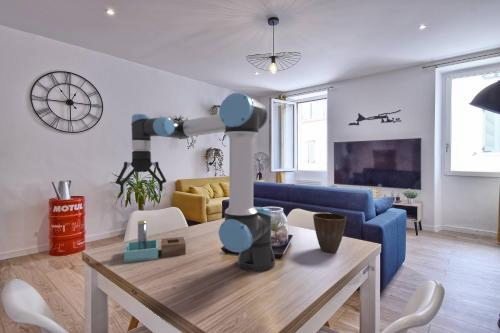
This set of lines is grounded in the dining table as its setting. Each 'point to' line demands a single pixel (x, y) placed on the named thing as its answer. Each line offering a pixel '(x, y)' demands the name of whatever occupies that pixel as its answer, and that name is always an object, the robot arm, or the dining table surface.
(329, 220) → the plant pot
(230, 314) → the dining table surface
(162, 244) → the block
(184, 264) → the dining table surface
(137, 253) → the pin tray
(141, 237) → the steel pin
